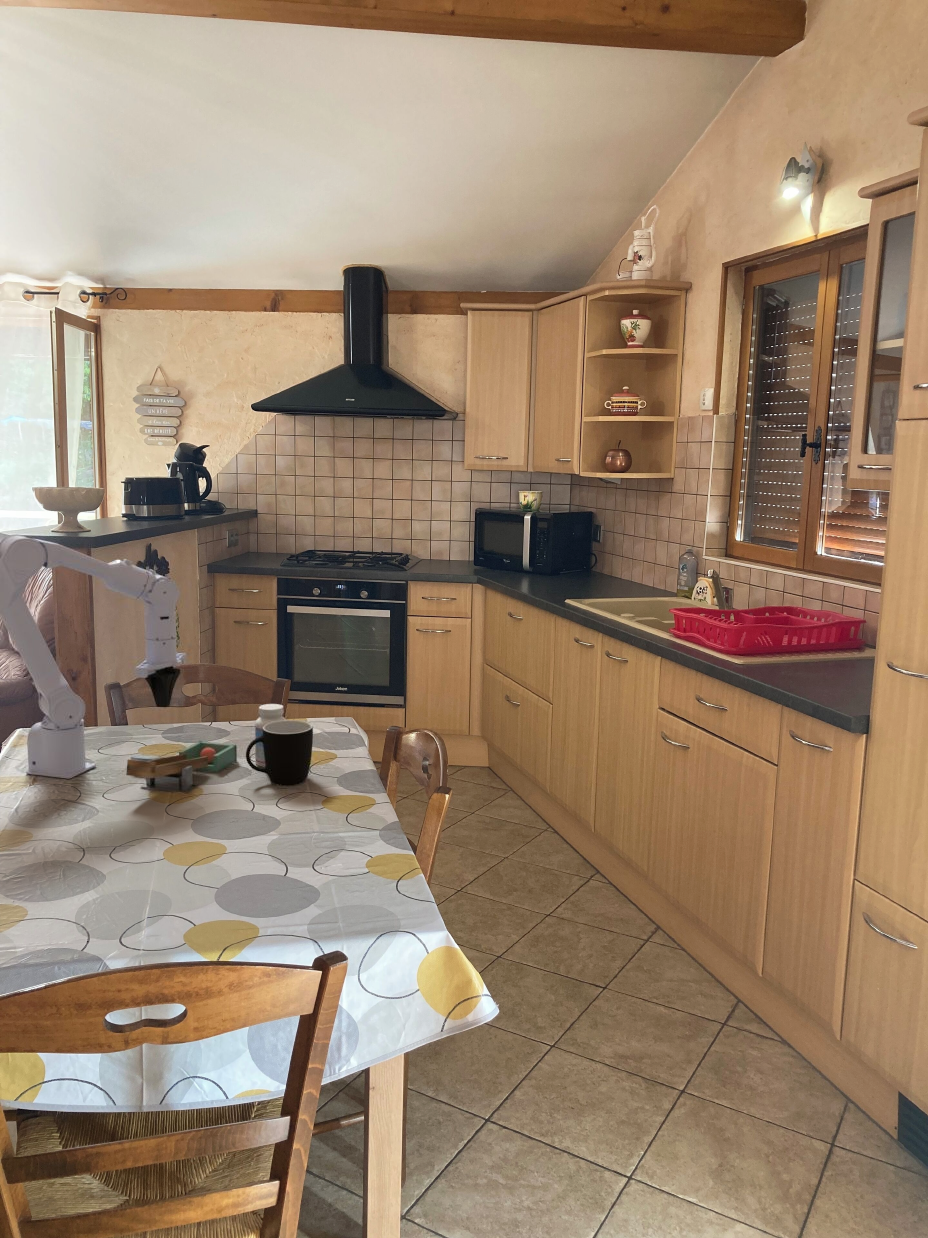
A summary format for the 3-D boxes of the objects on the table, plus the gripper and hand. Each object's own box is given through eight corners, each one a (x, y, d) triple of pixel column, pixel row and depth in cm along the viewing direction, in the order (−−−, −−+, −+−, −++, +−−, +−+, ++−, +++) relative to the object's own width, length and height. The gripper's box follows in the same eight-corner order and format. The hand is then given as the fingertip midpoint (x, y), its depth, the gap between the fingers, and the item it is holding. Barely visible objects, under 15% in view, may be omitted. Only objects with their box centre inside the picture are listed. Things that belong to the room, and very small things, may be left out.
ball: (199, 744, 179) (206, 749, 182) (195, 760, 178) (202, 764, 181) (214, 746, 178) (220, 751, 181) (209, 761, 177) (216, 766, 180)
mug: (308, 770, 178) (308, 718, 176) (317, 786, 169) (316, 731, 168) (243, 776, 174) (242, 723, 172) (249, 792, 165) (248, 736, 164)
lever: (82, 773, 160) (83, 754, 160) (142, 762, 178) (144, 745, 178) (155, 782, 157) (156, 762, 157) (209, 769, 174) (210, 752, 174)
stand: (140, 788, 166) (139, 766, 165) (153, 781, 170) (152, 759, 169) (186, 793, 164) (185, 771, 163) (198, 786, 168) (197, 764, 167)
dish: (179, 768, 177) (178, 752, 177) (199, 757, 184) (199, 741, 184) (217, 772, 175) (217, 756, 175) (236, 761, 182) (236, 745, 182)
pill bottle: (270, 770, 177) (269, 712, 175) (248, 763, 181) (248, 707, 179) (294, 762, 182) (293, 706, 180) (273, 756, 186) (272, 701, 184)
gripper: (158, 645, 173) (160, 717, 175) (199, 632, 187) (200, 699, 189) (124, 643, 175) (127, 714, 177) (167, 630, 189) (169, 696, 191)
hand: (162, 706), depth 183 cm, fingers closed
